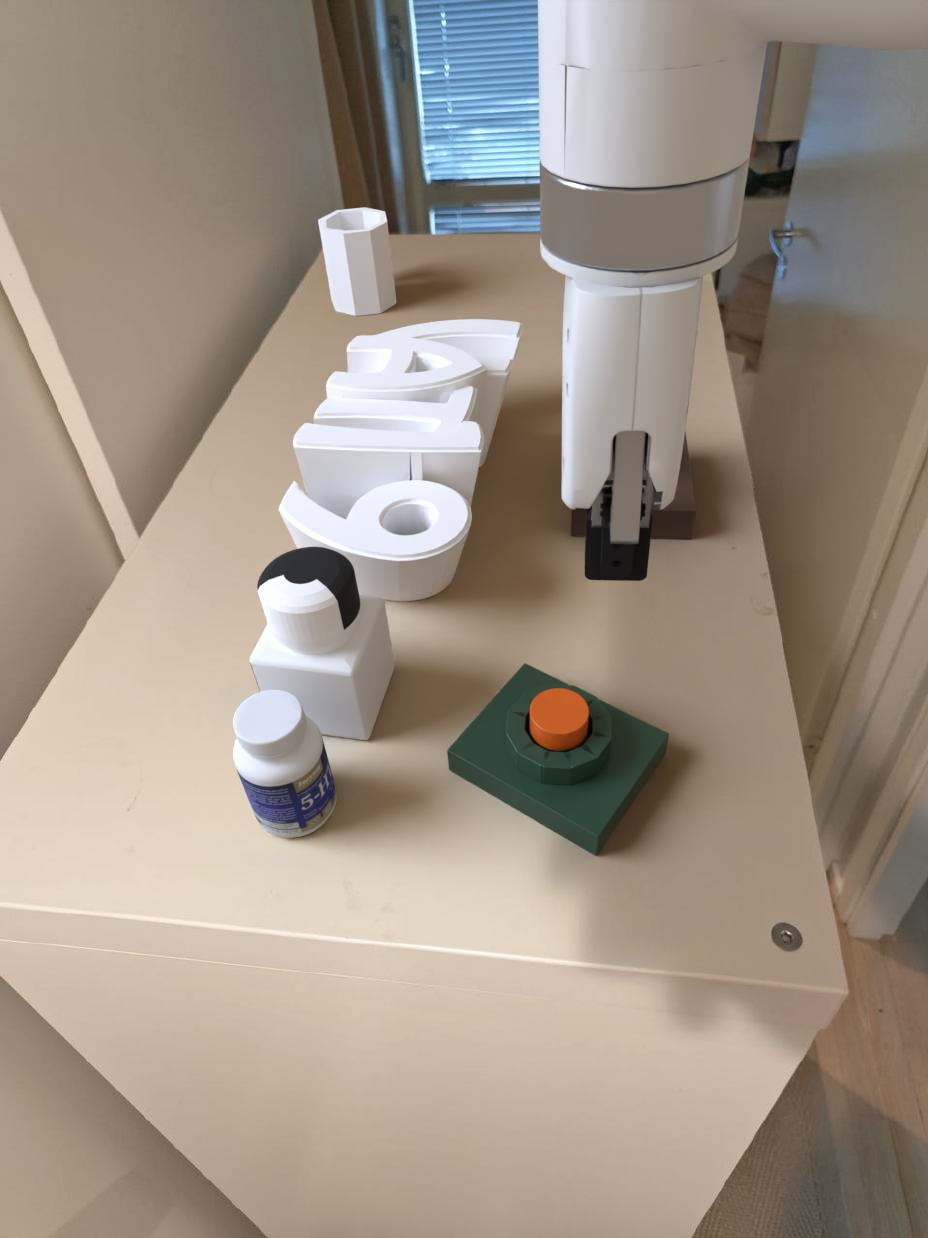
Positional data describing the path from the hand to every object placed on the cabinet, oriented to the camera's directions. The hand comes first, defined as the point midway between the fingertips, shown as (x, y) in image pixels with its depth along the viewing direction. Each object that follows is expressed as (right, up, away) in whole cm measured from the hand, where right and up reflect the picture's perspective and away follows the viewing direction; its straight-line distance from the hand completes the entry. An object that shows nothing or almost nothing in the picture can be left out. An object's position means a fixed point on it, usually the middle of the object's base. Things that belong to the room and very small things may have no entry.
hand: (614, 569), depth 45 cm
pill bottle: (-19, -15, +9) cm, 25 cm away
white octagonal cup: (-20, +39, +63) cm, 77 cm away
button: (-2, -9, +8) cm, 12 cm away
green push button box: (-2, -12, +10) cm, 16 cm away
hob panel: (+7, +8, +30) cm, 32 cm away
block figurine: (-17, -8, +16) cm, 25 cm away
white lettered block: (-12, +9, +32) cm, 35 cm away
